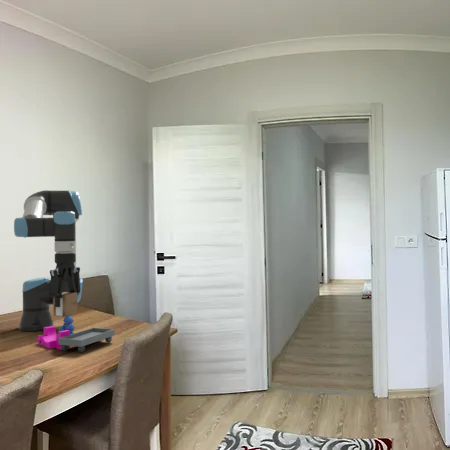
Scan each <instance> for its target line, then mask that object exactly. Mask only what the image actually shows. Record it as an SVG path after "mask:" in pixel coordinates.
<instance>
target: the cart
mask: <svg viewBox="0 0 450 450" xmlns="http://www.w3.org/2000/svg"><path fill="white" fill-rule="evenodd" d="M73 333H74V334H71V335H68V336H64V337H61V338H59V345H62V350H61V351H64V352H65V351H68V350H69V349H70V348H69V346H70V347H77V352H78V353H84V352H85V351H86V346H89V345H90V344H93V343H97V342H99V341H102V340H105V342H106V343H111V342H112V339H113V337H114V336H115V329H114V328H103V327H101V328H100V327H91V328H87V329H84V330H81V331H78V332H73Z"/></svg>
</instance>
